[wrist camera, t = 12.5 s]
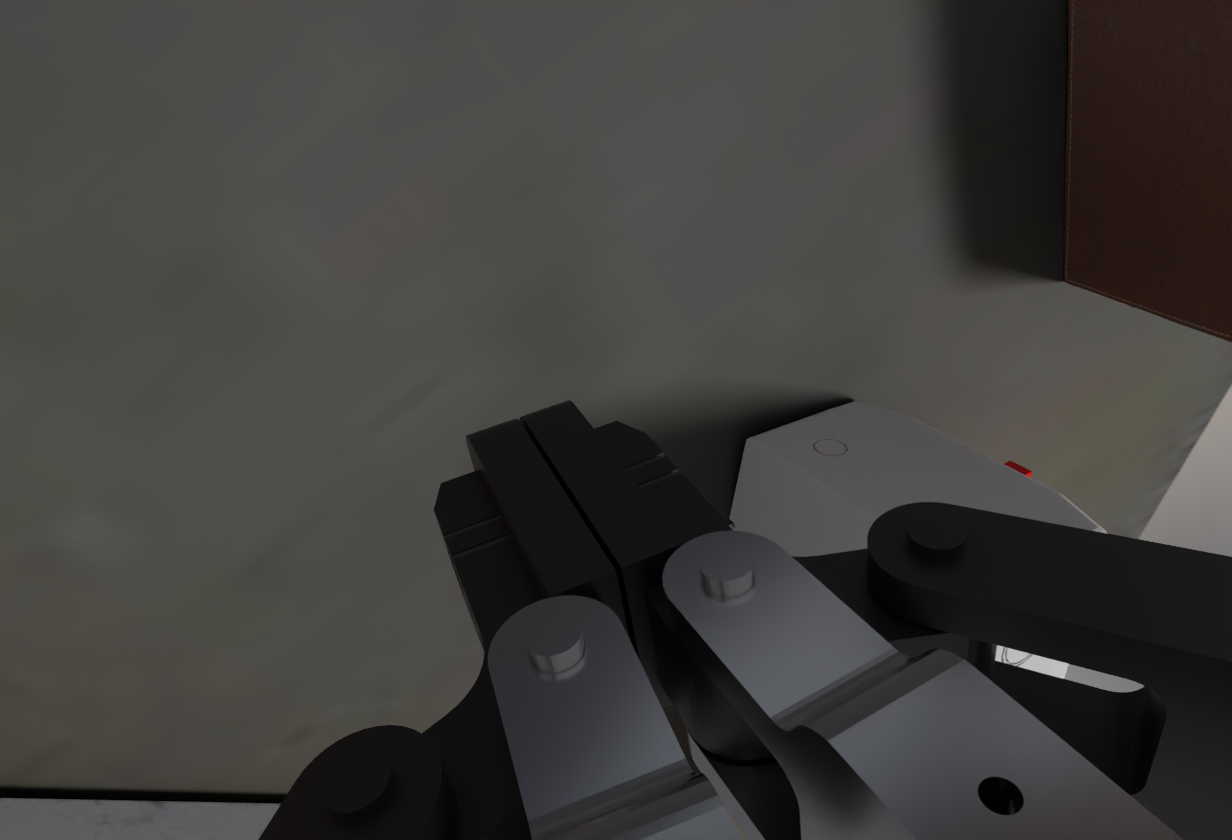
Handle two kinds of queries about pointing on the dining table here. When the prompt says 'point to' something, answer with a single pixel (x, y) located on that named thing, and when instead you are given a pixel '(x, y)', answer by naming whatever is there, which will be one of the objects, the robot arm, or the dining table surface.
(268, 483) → the dining table surface
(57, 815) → the vintage electronic device
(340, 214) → the dining table surface
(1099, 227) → the letter holder
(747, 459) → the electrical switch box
